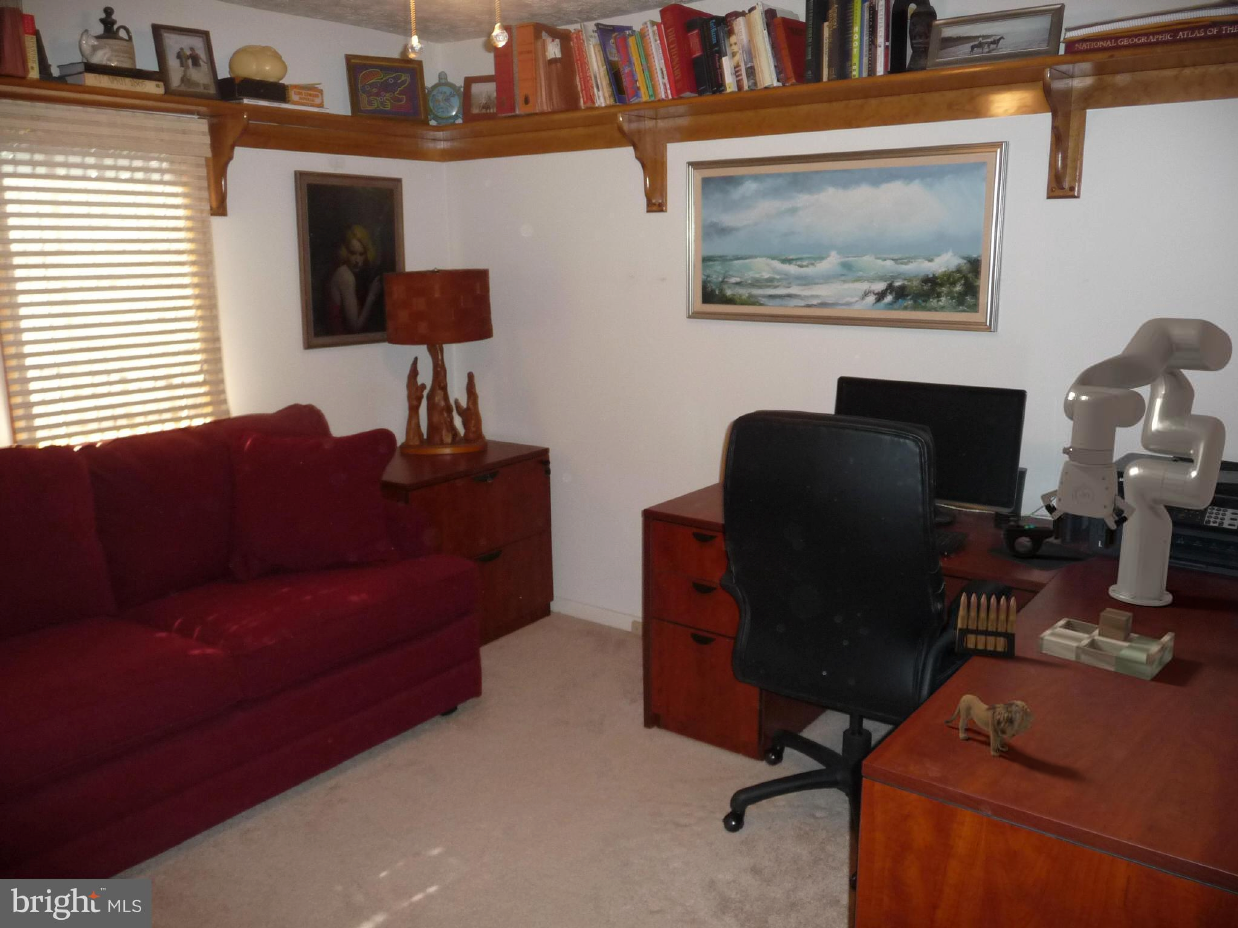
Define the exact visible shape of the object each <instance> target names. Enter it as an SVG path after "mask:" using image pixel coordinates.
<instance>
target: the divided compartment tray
mask: <svg viewBox="0 0 1238 928" xmlns="http://www.w3.org/2000/svg"><path fill="white" fill-rule="evenodd" d="M1098 631H1099V624H1094V623H1088V622H1085V621H1080V620H1075V619H1073V618H1072V619H1071V618H1067V617H1063V618H1062V619H1060V620H1059V621H1057V623H1055V624H1054V625H1052V626H1051V627H1050V628H1048V629H1047V630H1045V631H1044V632H1043V633H1041V634H1040V635H1038V639H1037V648H1036V649H1037V650H1036V651H1037V652H1039V653H1044V654H1046V653H1047V654H1046V655H1050V656H1055V657H1058V658H1061V659H1066V660H1070V661H1073V662H1077V663H1081V664H1085V665H1088V666H1092V667H1097V668H1100V669H1104V670H1106V671H1107V670H1108V671H1111V672H1116V673H1119V674H1123V675H1126V676H1131V677H1135V678H1138V679H1142V680H1146V681H1148V682H1149V681H1151V680H1152V679H1153V678H1154V677H1155V676H1156V675H1157V674H1158V673H1159V672H1160V671H1161V670H1162V669H1163V668H1164V667H1165V666H1166V665H1167V664H1168V663H1169V662H1170V661H1171V660H1172V659H1173V654H1174V653H1173V652H1174V644H1175V637H1176V636H1175V635H1176V633H1175V632H1171V631H1169V632H1167V633H1166V634H1165V635H1164V636H1163V637H1162V638H1161V639H1157V638H1153V637H1148V636H1146V635H1145V636H1144V635H1140V634H1135V633H1131V634H1130V636H1129V637H1128V638H1127V639H1126V640H1124V641H1123V642H1122V641H1118V640H1113V639H1109V638H1105V637H1101V636H1098Z"/></svg>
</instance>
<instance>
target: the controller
mask: <svg viewBox="0 0 1238 928" xmlns="http://www.w3.org/2000/svg"><path fill="white" fill-rule="evenodd" d="M1009 520H1010V522H1009V523H1007V524H1006V523H1005V524H1004V523H1003V524H1002V528H1003V529H1002V531H1001V533H1000V534H1001V536H1000V537H1001V539H1003V543H1004V546H1005V548H1006V549H1007V550H1008V551H1009V553H1010V554H1012V555H1014V556H1016V557H1019V558H1029V557H1032V556H1034V555H1036V554H1038V552H1039V551H1040V550H1041V549H1042V546H1043V543H1044V541H1045V540H1048V539H1052V538H1054V534H1052V528H1051V527H1049V526H1038V525H1037V526H1036V525H1029V524H1024V525H1022V524H1020V523H1018V521H1019V518H1018V517H1015V516H1013V517H1010V518H1009ZM1021 538H1026V539H1027V538H1028V539H1029V541H1030V546H1029V547H1028V548H1027V549H1025V550H1020V549H1018V548H1017V547H1016V542H1017V540H1020V539H1021Z"/></svg>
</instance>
